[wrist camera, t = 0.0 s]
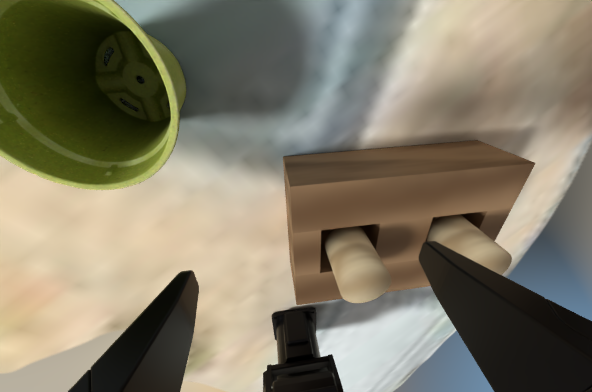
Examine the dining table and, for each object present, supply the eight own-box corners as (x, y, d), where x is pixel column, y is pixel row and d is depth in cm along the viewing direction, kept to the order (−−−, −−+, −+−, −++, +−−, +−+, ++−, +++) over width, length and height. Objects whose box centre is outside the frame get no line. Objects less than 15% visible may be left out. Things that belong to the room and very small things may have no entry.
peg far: (457, 242, 24) (499, 282, 20) (420, 247, 24) (455, 289, 20) (470, 210, 22) (520, 247, 18) (430, 215, 22) (472, 254, 18)
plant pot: (232, 67, 18) (214, 75, 11) (178, 161, 21) (134, 217, 14) (95, -41, 14) (-79, -141, 7) (54, 93, 18) (-96, 122, 10)
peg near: (363, 254, 23) (386, 299, 19) (324, 259, 23) (338, 306, 19) (368, 222, 21) (395, 264, 17) (325, 227, 21) (341, 271, 17)
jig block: (439, 243, 31) (474, 279, 26) (290, 261, 30) (296, 305, 24) (477, 140, 24) (535, 163, 19) (282, 156, 22) (289, 186, 17)
